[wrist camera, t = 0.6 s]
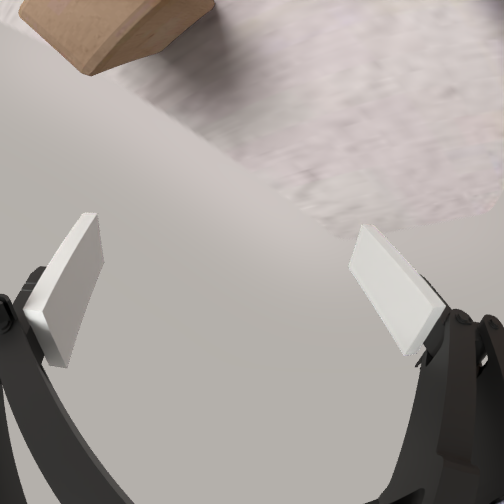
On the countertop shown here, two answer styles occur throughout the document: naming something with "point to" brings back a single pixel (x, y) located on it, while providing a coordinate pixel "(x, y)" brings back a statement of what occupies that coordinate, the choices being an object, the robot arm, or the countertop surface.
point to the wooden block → (110, 28)
